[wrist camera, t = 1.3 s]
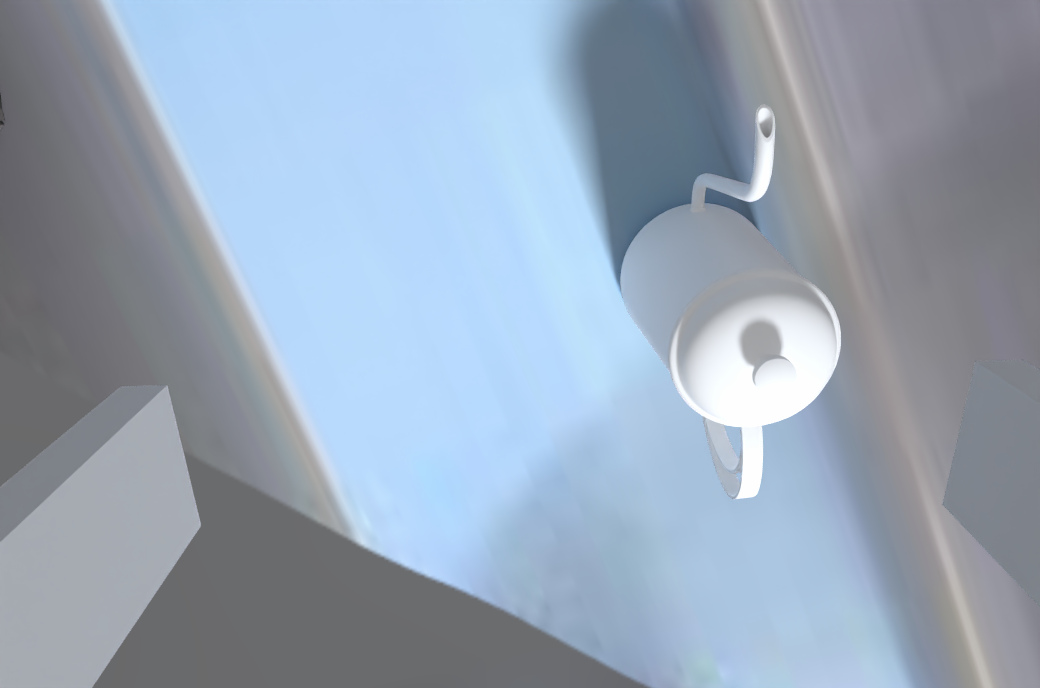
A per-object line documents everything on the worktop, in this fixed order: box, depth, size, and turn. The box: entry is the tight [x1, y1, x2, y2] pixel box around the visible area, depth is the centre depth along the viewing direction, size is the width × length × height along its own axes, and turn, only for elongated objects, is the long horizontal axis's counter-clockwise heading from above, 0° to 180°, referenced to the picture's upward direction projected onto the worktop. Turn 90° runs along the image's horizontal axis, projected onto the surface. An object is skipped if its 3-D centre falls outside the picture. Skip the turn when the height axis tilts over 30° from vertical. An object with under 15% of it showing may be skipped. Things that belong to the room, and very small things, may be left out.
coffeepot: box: [620, 105, 841, 499], centre depth 44 cm, size 11×25×19 cm, turn 7°
